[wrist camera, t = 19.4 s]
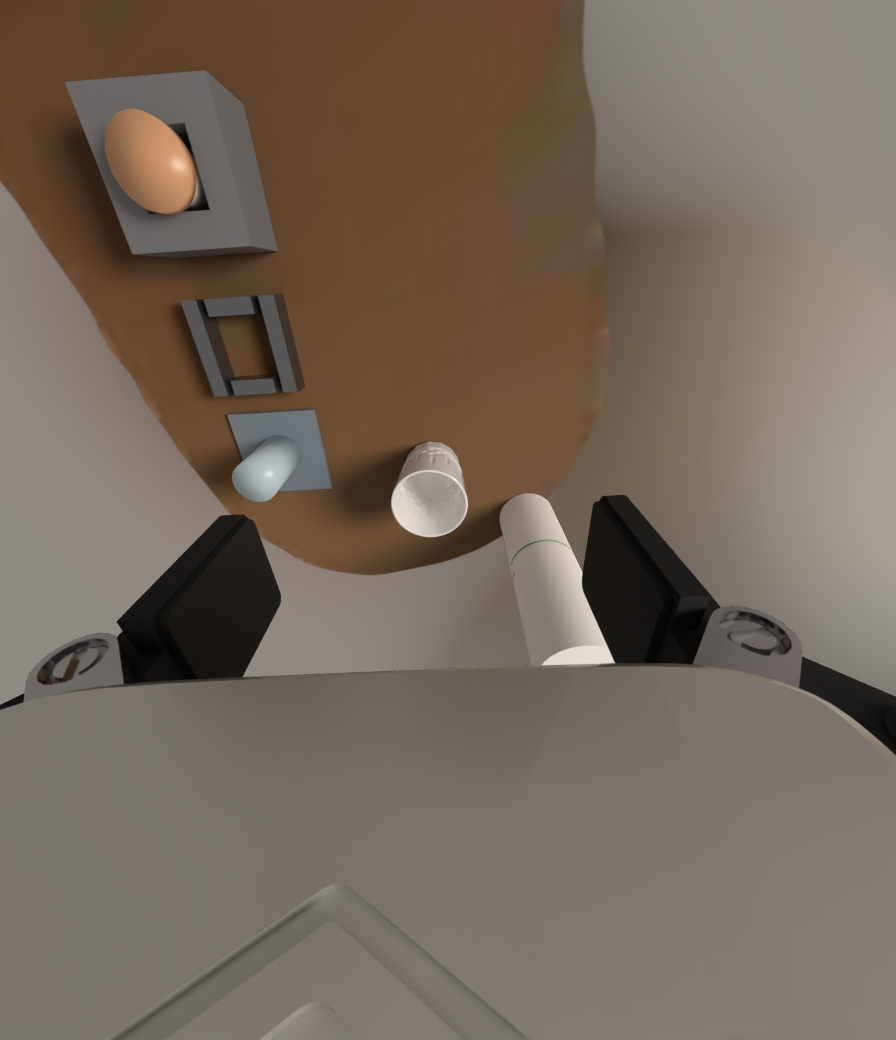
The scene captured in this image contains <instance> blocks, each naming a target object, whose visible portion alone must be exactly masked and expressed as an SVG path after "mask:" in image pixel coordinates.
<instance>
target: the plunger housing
mask: <svg viewBox="0 0 896 1040" xmlns="http://www.w3.org/2000/svg"><path fill="white" fill-rule="evenodd" d="M65 84H66V86H67V89H68V91H69V94H70V96H71V99H72V101H73V104H74V107H75V109H76V112H77V114H78V117H79V119H80V122H81V124H82V127H83V130H84V132H85V135H86V137H87V140H88V142H89V145H90V147H91V150H92V153H93V155H94V158H95V160H96V163H97V165H98V168H99V170H100V173H101V175H102V178H103V181H104V183H105V186H106V188H107V191H108V193H109V196H110V198H111V201H112V204H113V206H114V209H115V211H116V214H117V216H118V219H119V221H120V224H121V227H122V229H123V232H124V234H125V237H126V239H127V242H128V244H129V247H130V250H131V252H132V254H133V255H144V256H154V257H164V258H174V259H177V258H191V257H205V256H220V255H234V254H248V253H263V252H277V251H278V250H277V245H276V241H275V237H274V232H273V228H272V224H271V219H270V215H269V211H268V206H267V202H266V198H265V194H264V189H263V185H262V181H261V176H260V172H259V168H258V163H257V159H256V155H255V150H254V146H253V142H252V138H251V133H250V129H249V125H248V120H247V116H246V112H245V107H244V104H243V103H241V102H240V101H239V100H238V99H237V98H236V97H235V96H234V95H232V94H231V93H230V92H229V91H228V90H227V89H226V88H225V87H223V86H222V85H221V84H220V83H219V82H218V81H217V80H216V79H214V78H213V77H212V76H211V75H210V74H209V73H208V72H207V71H205V70H204V71H192V72H180V73H168V74H156V75H144V76H132V77H120V78H108V79H96V80H84V81H72V82H65ZM125 109H138V110H142V111H145V112H147V113H149V114H151V115H153V116H154V117H156V118H158V119H160V120H161V121H163V122H164V123H166V124H167V125H168V126H169V127H171V128H172V129H173V130H174V131H175V132H176V133H177V135H178V136H179V137H180V138H181V140H182V141H183V143H184V144H185V146H186V147H187V149H189V150H191V151H193V154H194V157H195V161H196V164H197V167H198V171H199V174H200V178H201V181H202V184H203V188H204V191H205V195H206V198H207V202H208V205H209V208H210V210H202V211H193V210H190V209H186V210H185V211H183V212H181V213H178V214H174V215H166V214H161V213H157V212H153V211H150V210H148V209H146V208H144V207H142V206H140V205H139V204H137V203H136V202H135V201H133V200H132V199H131V198H130V197H129V196H128V195H127V194H126V193H125V192H124V191H123V189H122V188H121V187H120V185H119V184H118V182H117V181H116V179H115V177H114V175H113V173H112V171H111V169H110V167H109V164H108V161H107V157H106V152H105V132H106V128H107V126H108V123H109V121H110V120H111V118H112V117H113V116H114V115H115V114H116V113H118V112H120V111H122V110H125Z"/></svg>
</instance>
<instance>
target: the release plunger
mask: <svg viewBox="0 0 896 1040" xmlns="http://www.w3.org/2000/svg"><path fill="white" fill-rule="evenodd" d="M105 152H106V157H107V161H108V164H109V167H110V169H111V171H112V173H113V175H114V177H115V179H116V181H117V182H118V184H119V185H120V187H121V188H122V189H123V191H124V192H125V193H126V194H127V195H128V196H129V197H130V198H131V199H132V200H133V201H135V202H136V203H137V204H139V205H140V206H142V207H144V208H146V209H148V210H150V211H153V212H157V213H161V214H166V215H174V214H178V213H181V212H183V211H185V210H186V209H190V210H193V211H202V210H210V208H209V205H208V202H207V198H206V195H205V191H204V188H203V184H202V181H201V178H200V174H199V171H198V167H197V164H196V161H195V157H194V154H193V151H191V150H189V149H187V147H186V146H185V144H184V143H183V141H182V140H181V138H180V137H179V136H178V135H177V133H176V132H175V131H174V130H173V129H172V128H171V127H169V126H168V125H167V124H166V123H164V122H163V121H161V120H160V119H158V118H156V117H154V116H153V115H151V114H149V113H147V112H145V111H142V110H138V109H125V110H122V111H120V112H118V113H116V114H115V115H114V116H113V117H112V118H111V120H110V121H109V123H108V126H107V128H106V132H105Z"/></svg>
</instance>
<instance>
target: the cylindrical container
mask: <svg viewBox="0 0 896 1040" xmlns="http://www.w3.org/2000/svg"><path fill="white" fill-rule="evenodd" d="M499 520H500V526H501V530H502V535H503V539H504V544H505V548H506V553H507V557H508V561H509V566H510V571H511V575H512V579H513V583H514V588H515V593H516V597H517V602H518V606H519V611H520V615H521V620H522V624H523V629H524V633H525V637H526V642H527V647H528V651H529V656H530V660H531V665H532V666H537V665H568V664H604V663H615V662H614V660H613V658H612V655H611V653H610V651H609V649H608V647H607V644H606V642H605V640H604V638H603V635H602V633H601V631H600V629H599V626H598V624H597V622H596V620H595V617H594V615H593V613H592V611H591V608H590V606H589V604H588V602H587V599H586V597H585V595H584V592H583V589H582V574H583V573H582V571H581V569H580V566H579V564H578V562H577V560H576V558H575V556H574V554H573V552H572V550H571V547H570V546H569V543H568V541H567V539H566V537H565V535H564V533H563V530H562V528H561V526H560V524H559V522H558V520H557V518H556V516H555V514H554V512H553V509H552V507H551V506H550V503H549V502H548V501H547V500H546V499H545V498H543V497H542V496H539V495H536V494H521V495H518V496H515V497H513V498H512V499H510V500H509V501H508V502H507V503H506V504H505V505H504V506H503V508H502V510H501V512H500V518H499Z"/></svg>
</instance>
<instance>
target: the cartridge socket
mask: <svg viewBox="0 0 896 1040" xmlns="http://www.w3.org/2000/svg"><path fill="white" fill-rule="evenodd" d="M180 302H181V304H182V307H183V310H184V313H185V316H186V318H187V321H188V324H189V327H190V330H191V332H192V335H193V338H194V341H195V344H196V346H197V349H198V352H199V355H200V358H201V360H202V363H203V366H204V369H205V372H206V374H207V377H208V380H209V383H210V386H211V388H212V391H213V394H214V397H221V396H229V395H231V394H233V393H235V396H238V395H254V394H271V393H278V392H279V391H281V390H282V389H283V392H284V393H288V392H298V391H300V390H301V389H302V388H304V387H305V385H304V381H303V377H302V373H301V368H300V364H299V360H298V356H297V351H296V347H295V343H294V339H293V335H292V330H291V326H290V322H289V318H288V314H287V309H286V305H285V301H284V297H283V294H274V295H259V296H244V297H229V298H214V299H200V300H184V301H180ZM258 313H263V317H264V321H265V325H266V328H267V332H268V336H269V340H270V343H271V347H272V351H273V355H274V358H275V362H276V366H277V370H278V373H279V374H271V375H255V376H241V377H238V378H236V379H235V377H234V374H233V371H232V368H231V365H230V361H229V358H228V355H227V352H226V349H225V346H224V343H223V340H222V337H221V334H220V331H219V327H218V324H217V321H216V318H215V317H216V316H231V315H246V314H258Z"/></svg>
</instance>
